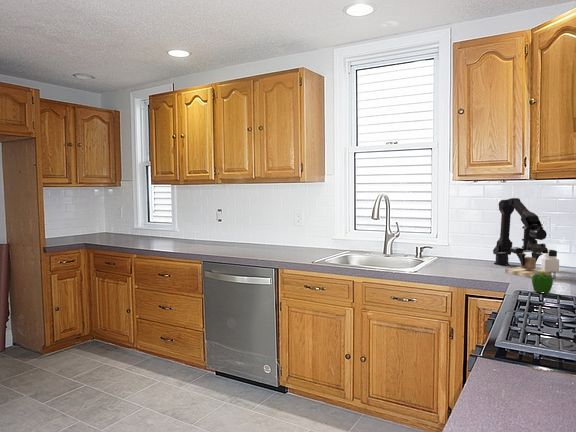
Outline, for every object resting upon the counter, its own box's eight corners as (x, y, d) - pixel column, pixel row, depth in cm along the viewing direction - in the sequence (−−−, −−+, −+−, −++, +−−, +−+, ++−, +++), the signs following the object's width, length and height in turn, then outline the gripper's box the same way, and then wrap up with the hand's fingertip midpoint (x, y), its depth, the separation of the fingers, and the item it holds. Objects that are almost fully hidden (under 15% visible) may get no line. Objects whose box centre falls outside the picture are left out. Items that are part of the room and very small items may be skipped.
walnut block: (520, 268, 239) (521, 257, 238) (527, 267, 241) (527, 256, 240) (529, 269, 234) (529, 258, 234) (535, 268, 236) (535, 258, 236)
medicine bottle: (554, 269, 249) (555, 249, 248) (558, 272, 242) (560, 251, 241) (540, 269, 251) (541, 248, 250) (544, 271, 244) (545, 250, 243)
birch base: (505, 272, 241) (505, 268, 241) (524, 269, 248) (524, 266, 248) (532, 278, 227) (532, 274, 227) (551, 275, 234) (551, 271, 234)
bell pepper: (534, 289, 204) (535, 268, 203) (554, 292, 198) (555, 270, 197) (528, 292, 198) (529, 270, 197) (549, 295, 192) (550, 273, 191)
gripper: (523, 239, 227) (521, 269, 229) (556, 239, 229) (554, 268, 230) (510, 237, 238) (508, 265, 240) (541, 236, 240) (540, 264, 242)
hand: (528, 265), depth 237 cm, fingers closed on walnut block, 6 cm apart
